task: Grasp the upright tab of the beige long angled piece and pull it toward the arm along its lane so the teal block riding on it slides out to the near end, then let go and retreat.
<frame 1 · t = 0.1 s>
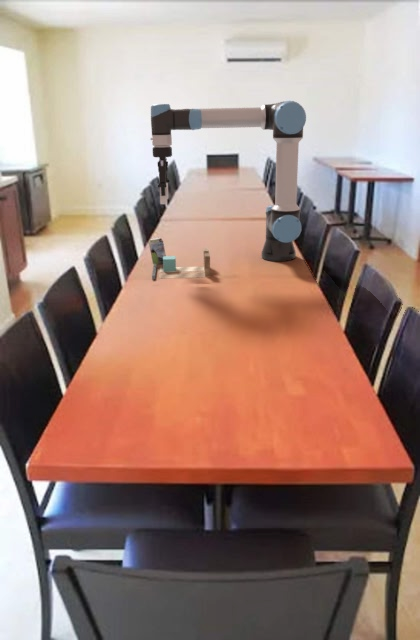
hand: (164, 201, 227), 28 cm above the table, fingers open, 13 cm apart
block: (169, 269, 231), point 1 cm above the table, touching beige long angled piece
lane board: (184, 275, 227), on the table
beverage can: (158, 265, 242), on the table
strip oak: (184, 266, 221), point 5 cm above the table, slide at 0.0 cm
beige long angled piece: (184, 260, 230), point 5 cm above the table, slide at 0.0 cm, touching block
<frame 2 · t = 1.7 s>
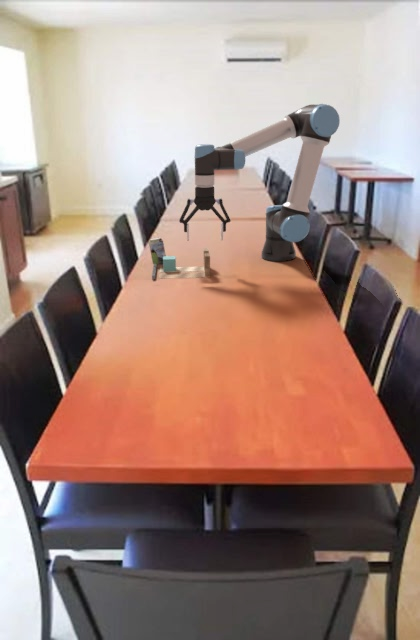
hand: (205, 240, 227), 13 cm above the table, fingers open, 13 cm apart
nothing on the table moved.
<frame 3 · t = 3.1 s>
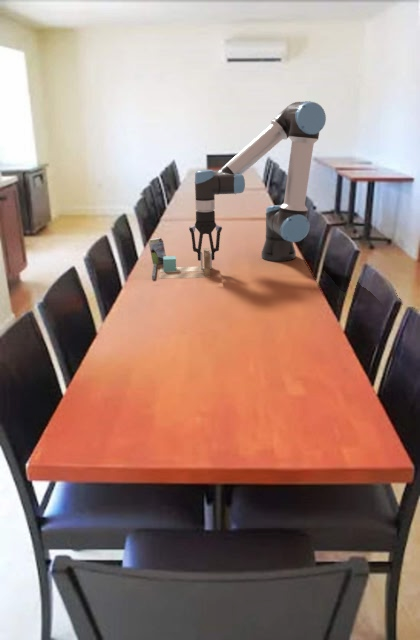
hand: (206, 267, 231), 2 cm above the table, fingers open, 3 cm apart
beige long angled piece: (184, 260, 230), point 5 cm above the table, slide at 0.1 cm, touching block, gripper
everything else where it was.
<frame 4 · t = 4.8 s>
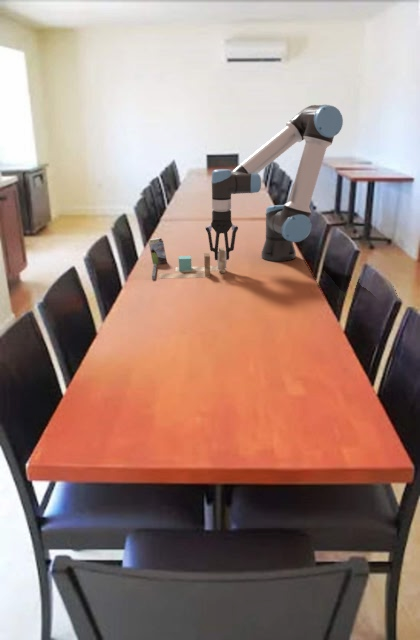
hand: (221, 267, 231), 2 cm above the table, fingers closed on beige long angled piece, 2 cm apart
block: (185, 269, 231), point 1 cm above the table, touching beige long angled piece
beige long angled piece: (199, 260, 230), point 5 cm above the table, slide at 6.4 cm, touching block, gripper
everything else where it was.
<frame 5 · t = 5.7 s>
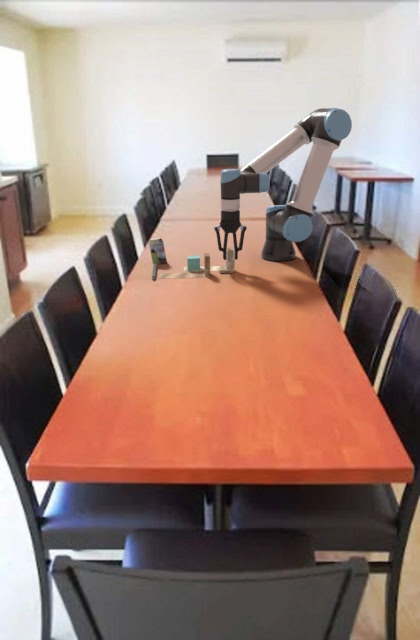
hand: (230, 267, 232), 2 cm above the table, fingers closed on beige long angled piece, 2 cm apart
block: (193, 268, 231), point 1 cm above the table, touching beige long angled piece
beige long angled piece: (208, 260, 230), point 5 cm above the table, slide at 9.8 cm, touching block, gripper
everything else where it was.
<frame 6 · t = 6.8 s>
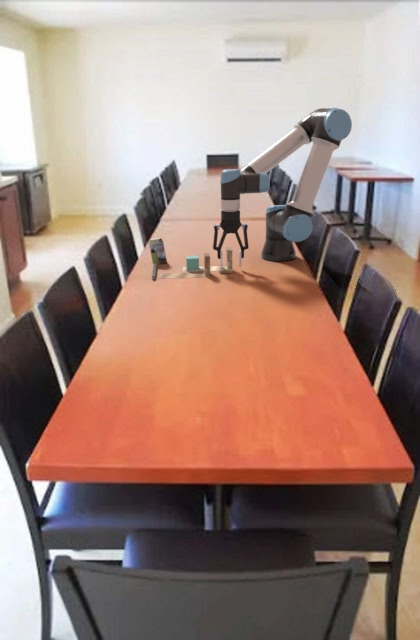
hand: (230, 266, 231), 2 cm above the table, fingers open, 7 cm apart
beige long angled piece: (207, 260, 230), point 5 cm above the table, slide at 9.4 cm, touching block
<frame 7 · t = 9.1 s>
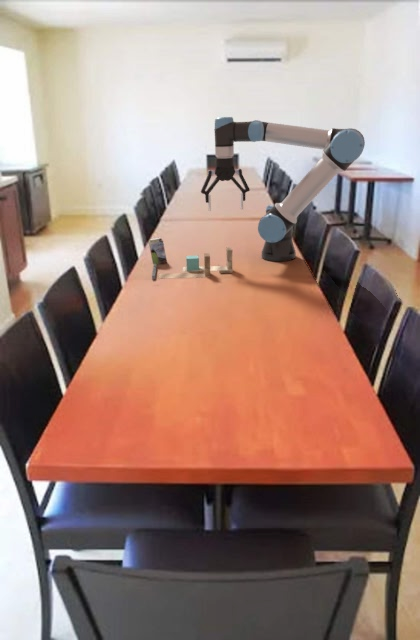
hand: (225, 209, 237), 23 cm above the table, fingers open, 13 cm apart
nothing on the table moved.
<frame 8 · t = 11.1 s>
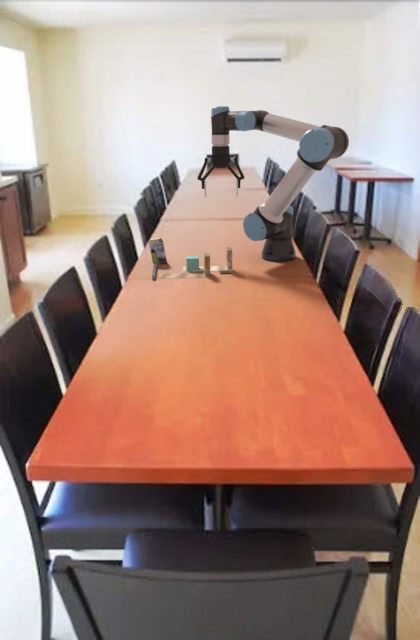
hand: (221, 196, 246), 27 cm above the table, fingers open, 13 cm apart
nothing on the table moved.
at the end: beige long angled piece slide at 9.4 cm; block inside the target area (0.1 cm from its centre), point 1.3 cm above the table; block tilted 0° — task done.
